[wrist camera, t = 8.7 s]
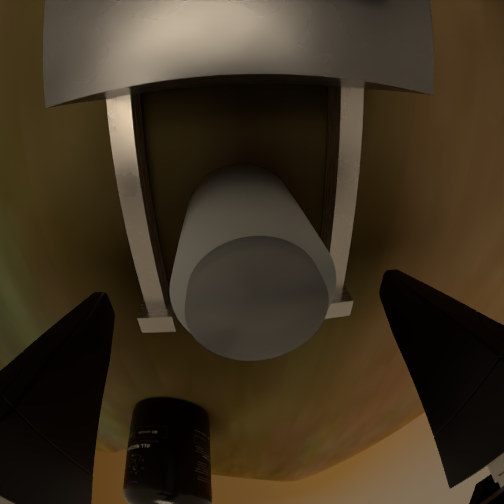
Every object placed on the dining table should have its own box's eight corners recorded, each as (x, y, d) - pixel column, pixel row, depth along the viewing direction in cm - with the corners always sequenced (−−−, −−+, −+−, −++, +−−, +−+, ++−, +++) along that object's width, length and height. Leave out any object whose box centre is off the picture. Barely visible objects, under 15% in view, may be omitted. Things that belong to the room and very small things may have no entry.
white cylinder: (294, 161, 13) (358, 226, 7) (291, 257, 15) (331, 359, 9) (181, 167, 12) (148, 239, 7) (193, 264, 15) (183, 374, 9)
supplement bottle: (133, 389, 20) (117, 531, 10) (217, 403, 22) (226, 542, 11) (132, 423, 23) (123, 535, 13) (201, 435, 25) (206, 544, 14)
